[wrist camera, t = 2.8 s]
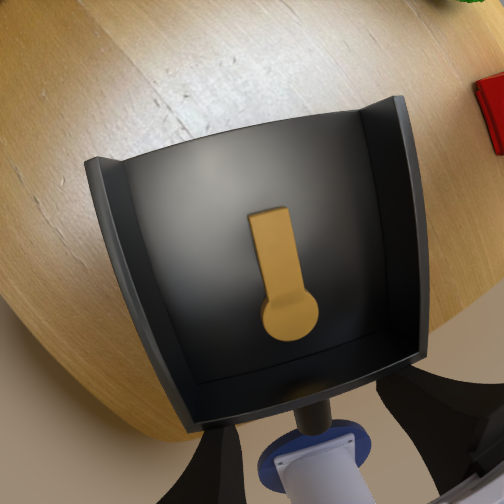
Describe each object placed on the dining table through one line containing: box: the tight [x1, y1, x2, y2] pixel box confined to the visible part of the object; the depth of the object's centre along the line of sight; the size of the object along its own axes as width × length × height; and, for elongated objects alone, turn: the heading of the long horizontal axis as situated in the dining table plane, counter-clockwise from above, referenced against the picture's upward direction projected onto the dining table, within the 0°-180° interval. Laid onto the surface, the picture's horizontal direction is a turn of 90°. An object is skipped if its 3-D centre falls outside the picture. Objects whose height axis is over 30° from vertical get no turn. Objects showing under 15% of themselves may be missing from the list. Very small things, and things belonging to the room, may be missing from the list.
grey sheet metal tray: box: [84, 96, 430, 436], centre depth 11 cm, size 13×10×3 cm
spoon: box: [247, 207, 319, 341], centre depth 11 cm, size 5×2×1 cm, turn 13°
